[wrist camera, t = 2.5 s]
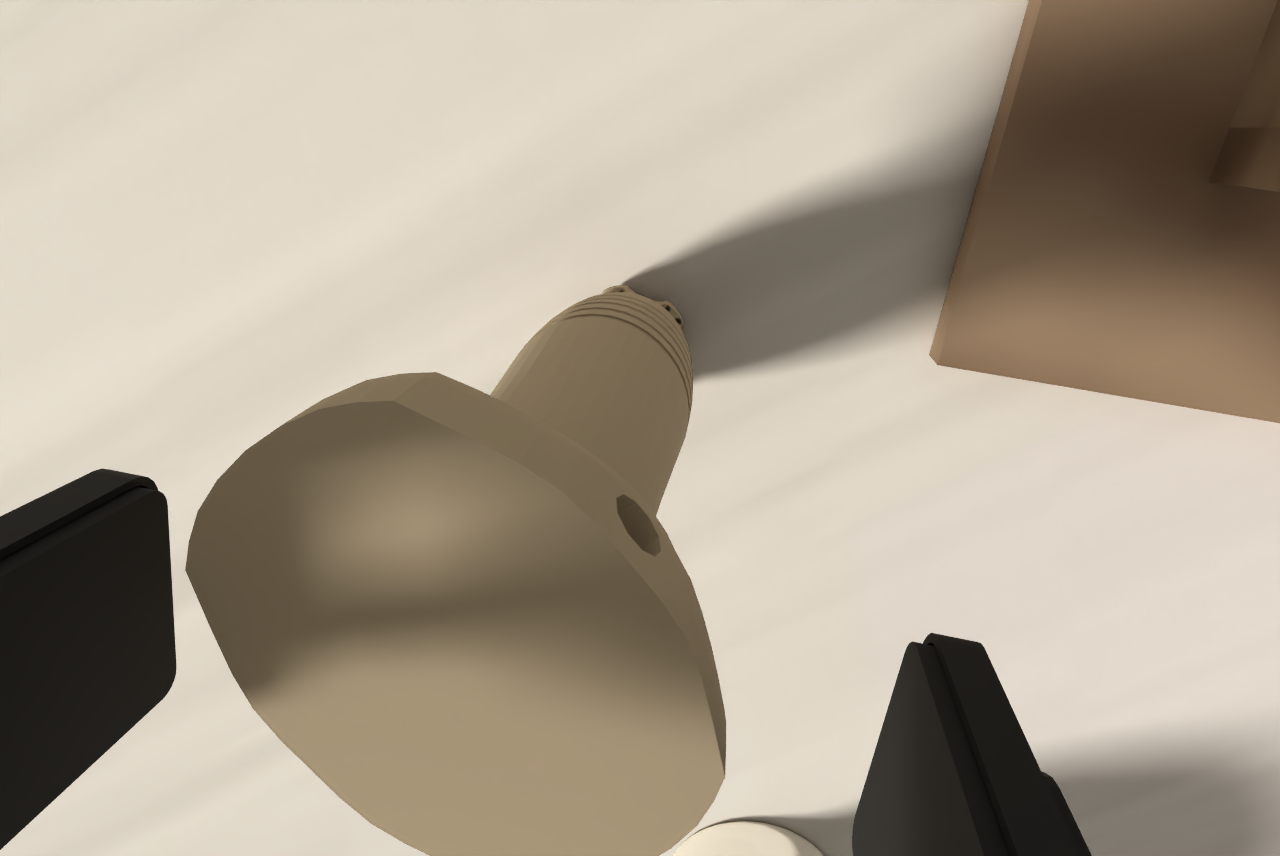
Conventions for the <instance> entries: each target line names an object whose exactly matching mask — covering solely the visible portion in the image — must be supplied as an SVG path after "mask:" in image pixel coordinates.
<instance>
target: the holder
mask: <svg viewBox="0 0 1280 856" xmlns="http://www.w3.org/2000/svg"><path fill="white" fill-rule="evenodd" d="M929 355H930V356H931V358H932V359H933V360H934V361H935V362H936V364H937V365H941V366H947V367H953V368H958V369H964V370H970V371H976V372H982V373H988V374H994V375H1000V376H1006V377H1011V378H1017V379H1023V380H1029V381H1035V382H1041V383H1047V384H1053V385H1059V386H1064V387H1070V388H1076V389H1082V390H1088V391H1094V392H1100V393H1106V394H1111V395H1117V396H1123V397H1129V398H1135V399H1141V400H1147V401H1153V402H1159V403H1164V404H1170V405H1176V406H1182V407H1188V408H1194V409H1200V410H1206V411H1211V412H1217V413H1223V414H1229V415H1235V416H1241V417H1247V418H1253V419H1259V420H1264V421H1270V422H1276V423H1280V0H1029V3H1028V6H1027V10H1026V13H1025V17H1024V20H1023V24H1022V28H1021V31H1020V35H1019V38H1018V42H1017V45H1016V49H1015V52H1014V56H1013V60H1012V63H1011V67H1010V70H1009V74H1008V77H1007V81H1006V84H1005V88H1004V92H1003V95H1002V99H1001V102H1000V106H999V109H998V113H997V116H996V120H995V124H994V127H993V131H992V134H991V138H990V141H989V145H988V148H987V152H986V155H985V159H984V163H983V166H982V170H981V173H980V177H979V180H978V184H977V187H976V191H975V195H974V198H973V202H972V205H971V209H970V212H969V216H968V219H967V223H966V227H965V230H964V234H963V237H962V241H961V244H960V248H959V251H958V255H957V259H956V262H955V266H954V269H953V273H952V276H951V280H950V283H949V287H948V290H947V294H946V298H945V301H944V305H943V308H942V312H941V315H940V319H939V322H938V326H937V330H936V333H935V337H934V340H933V344H932V347H931V351H930V354H929Z"/></svg>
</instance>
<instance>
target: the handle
mask: <svg viewBox="0 0 1280 856" xmlns="http://www.w3.org/2000/svg"><path fill="white" fill-rule="evenodd" d="M682 328H683V320H682V317H681V315H680V313H679V312H678V310H677V309H676V308H675V307H674V305H673V304H672V303H670V302H669V301H662V302H660V301H653V300H651V299H650V298H647V297H644V296H641V295H638V294H636V293H635V292H634V291H632V290H631V289H630V288H629V286H627V285H620V286H614V287H610V288H607V289H606V290H604V291H603V293H602V294H600V295H596V296H593V297H590V298H587V299H585V300H583V301H580V302H578V303H576V304H574V305H572V306H571V307H569V308H568V309H566V310H564V311H563V312H561V313H560V314H558V315H557V316H555V317H554V318H552V319H551V320H550V321H549V322H548V323H547V324H546V325H545V326H544V327H543V328H542V329H541V330H539V331H538V332H537V333H536V334H535V335H534V336H533V337H532V338H531V339H530V341H529V342H528V343H527V344H526V345H525V346H524V348H523V349H522V350H521V352H520V353H519V354H518V356H517V357H516V358H515V360H514V361H513V363H512V364H511V366H510V367H509V369H508V370H507V372H506V373H505V374H504V376H503V377H502V379H501V380H500V382H499V383H498V385H497V386H496V388H495V389H494V390H493V392H492V393H491V395H488V394H485V393H483V392H481V391H479V390H477V389H475V388H472V387H470V386H468V385H465V384H463V383H461V382H458V381H456V380H453V379H451V378H449V377H446V376H444V375H442V374H439V373H437V372H432V373H408V374H397V375H392V376H387V377H381V378H376V379H370V380H366V381H364V382H361V383H359V384H357V385H354V386H352V387H350V388H348V389H345V390H343V391H341V392H339V393H336V394H334V395H332V396H330V397H328V398H325V399H323V400H321V401H320V402H318V403H316V404H315V405H313V406H311V407H310V408H308V409H306V410H305V411H303V412H302V413H300V414H299V415H297V416H295V417H294V418H292V419H291V420H289V421H288V422H286V423H285V424H283V425H281V426H280V427H279V428H277V429H276V430H274V431H273V432H271V433H270V434H269V435H267V436H266V437H264V438H263V439H261V440H260V441H259V442H257V443H256V444H254V445H253V446H251V447H250V448H249V449H247V450H246V451H245V452H244V453H243V454H242V455H241V456H240V457H239V458H238V459H237V460H236V461H235V462H234V463H233V464H232V465H231V466H230V467H229V468H228V469H227V471H226V472H225V473H224V474H223V475H222V476H221V477H220V478H219V479H218V480H217V481H216V483H215V485H214V486H213V488H212V489H211V491H210V493H209V494H208V496H207V497H206V499H205V501H204V502H203V504H202V506H201V507H200V509H199V510H198V513H197V516H196V519H195V523H194V526H193V530H192V533H191V536H190V540H189V546H188V554H187V562H186V573H187V575H188V577H189V579H190V582H191V584H192V586H193V589H194V591H195V593H196V595H197V598H198V600H199V602H200V605H201V607H202V609H203V611H204V614H205V616H206V618H207V621H208V623H209V625H210V627H211V630H212V632H213V634H214V636H215V638H216V640H217V643H218V645H219V647H220V649H221V651H222V653H223V655H224V658H225V660H226V662H227V664H228V666H229V668H230V670H231V672H232V674H233V676H234V678H235V679H236V681H237V683H238V684H239V686H240V688H241V689H242V691H243V693H244V694H245V696H246V698H247V699H248V701H249V703H250V704H251V706H252V708H253V709H254V710H255V711H256V713H257V714H258V715H259V716H260V717H261V718H262V719H263V721H264V722H265V723H266V724H267V725H268V726H269V727H270V729H271V730H272V731H273V732H274V733H275V734H276V735H277V737H278V738H279V739H280V740H281V741H282V742H283V743H284V744H285V745H286V746H287V747H288V748H289V749H290V750H291V751H292V752H293V753H294V754H295V755H296V756H297V757H298V758H300V759H301V760H302V761H303V762H304V763H305V764H306V765H307V766H308V767H309V768H310V769H311V770H312V771H313V772H314V773H315V774H316V775H317V776H318V777H319V778H320V779H321V780H322V781H323V782H324V783H325V784H326V785H327V786H328V787H329V788H330V789H331V790H332V791H334V792H335V793H336V794H337V795H338V796H339V797H340V798H341V799H342V800H343V801H344V802H346V803H347V804H348V805H349V806H351V807H352V808H353V809H354V810H355V811H357V812H358V813H359V814H360V815H361V816H363V817H364V818H365V819H366V820H367V821H369V822H370V823H371V824H373V825H375V826H376V827H378V828H380V829H381V830H383V831H385V832H386V833H388V834H390V835H392V836H393V837H395V838H397V839H398V840H400V841H402V842H403V843H405V844H407V845H409V846H411V847H413V848H415V849H417V850H419V851H422V852H424V853H426V854H428V855H430V856H659V855H661V854H663V853H664V852H666V851H667V850H669V849H671V848H672V847H673V846H674V845H675V844H677V843H678V842H679V841H680V840H681V839H682V838H684V837H685V836H686V835H687V834H688V833H689V832H690V831H692V830H693V829H694V828H695V827H696V826H697V825H698V824H699V822H700V821H701V819H702V818H703V816H704V815H705V813H706V812H707V810H708V809H709V808H710V806H711V805H712V803H713V802H714V800H715V797H716V795H717V793H718V791H719V789H720V787H721V785H722V782H723V780H724V778H725V759H726V719H725V711H724V705H723V700H722V695H721V689H720V684H719V679H718V674H717V670H716V665H715V661H714V656H713V651H712V647H711V643H710V640H709V636H708V632H707V629H706V625H705V621H704V618H703V614H702V611H701V608H700V605H699V602H698V599H697V596H696V593H695V591H694V588H693V585H692V582H691V579H690V577H689V576H688V574H687V572H686V570H685V568H684V566H683V564H682V563H681V561H680V559H679V557H678V555H677V553H676V552H675V549H674V547H673V545H672V543H671V541H670V539H669V537H668V535H667V533H666V531H665V530H664V528H663V527H662V525H661V524H660V522H659V521H658V519H657V518H656V514H657V511H658V508H659V505H660V502H661V499H662V497H663V494H664V491H665V489H666V486H667V483H668V481H669V478H670V476H671V473H672V470H673V468H674V465H675V463H676V460H677V457H678V455H679V452H680V449H681V447H682V444H683V442H684V439H685V436H686V431H687V427H688V422H689V417H690V411H691V406H692V394H693V372H692V363H691V356H690V351H689V348H688V344H687V341H686V339H685V337H684V334H683V332H682Z"/></svg>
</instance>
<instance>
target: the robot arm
mask: <svg viewBox="0 0 1280 856" xmlns="http://www.w3.org/2000/svg"><path fill="white" fill-rule="evenodd" d="M175 675H176V651H175V633H174V615H173V597H172V578H171V560H170V542H169V524H168V505H167V500H166V498H165V496H164V494H163V493H161V492H160V491H158V488H157V486H156V485H155V483H154V481H153V480H151V479H150V478H148V477H144V476H139V475H134V474H129V473H124V472H119V471H114V470H108V469H99V470H96V471H93V472H91V473H89V474H87V475H85V476H83V477H81V478H79V479H77V480H74V481H72V482H70V483H68V484H66V485H64V486H62V487H60V488H58V489H56V490H54V491H52V492H50V493H48V494H46V495H44V496H42V497H40V498H38V499H35V500H33V501H31V502H29V503H27V504H25V505H23V506H21V507H19V508H17V509H15V510H13V511H11V512H9V513H7V514H5V515H3V516H1V517H0V850H1V849H2V848H3V847H4V846H5V845H6V844H7V843H8V842H9V841H10V840H11V839H12V838H14V837H15V836H16V835H17V834H18V833H19V832H20V831H21V830H22V829H23V828H24V827H25V826H26V825H28V824H29V823H30V822H31V821H32V820H33V819H34V818H35V817H36V816H37V815H38V814H39V813H40V812H42V811H43V810H44V809H45V808H46V807H47V806H48V805H49V804H50V803H51V802H52V801H53V800H54V799H56V798H57V797H58V796H59V795H60V794H61V793H62V792H63V791H64V790H65V789H66V788H67V787H68V786H70V785H71V784H72V783H73V782H74V781H75V780H76V779H77V778H78V777H79V776H80V775H81V774H82V773H84V772H85V771H86V770H87V769H88V768H89V767H90V766H91V765H92V764H93V763H94V762H95V761H96V760H98V759H99V758H100V757H101V756H102V755H103V754H104V753H105V752H106V751H107V750H108V749H109V748H110V747H112V746H113V745H114V744H115V743H116V742H117V741H118V740H119V739H120V738H121V737H122V736H123V735H124V734H126V733H127V732H128V731H129V730H130V729H131V728H132V727H133V726H134V725H135V724H136V723H137V722H139V721H140V720H141V719H142V718H143V717H144V716H145V715H146V714H147V713H148V712H149V711H150V710H151V709H153V708H154V707H155V706H156V705H157V704H158V703H159V702H160V701H161V700H162V699H163V698H164V697H165V696H166V695H167V693H168V691H169V690H170V688H171V686H172V684H173V682H174V679H175ZM852 848H853V856H1091V853H1090V851H1089V849H1088V847H1087V845H1086V843H1085V841H1084V839H1083V837H1082V834H1081V832H1080V830H1079V828H1078V826H1077V824H1076V822H1075V820H1074V818H1073V816H1072V813H1071V811H1070V809H1069V807H1068V805H1067V803H1066V801H1065V799H1064V797H1063V795H1062V792H1061V790H1060V788H1059V787H1058V785H1057V784H1056V782H1055V781H1054V779H1053V778H1052V777H1051V776H1049V775H1048V774H1046V773H1044V772H1041V770H1040V768H1039V766H1038V764H1037V762H1036V759H1035V757H1034V755H1033V753H1032V751H1031V748H1030V746H1029V744H1028V742H1027V740H1026V738H1025V735H1024V733H1023V731H1022V729H1021V727H1020V725H1019V722H1018V720H1017V718H1016V716H1015V714H1014V711H1013V709H1012V707H1011V705H1010V703H1009V701H1008V698H1007V696H1006V694H1005V692H1004V690H1003V687H1002V685H1001V683H1000V681H999V679H998V677H997V674H996V672H995V670H994V668H993V666H992V664H991V661H990V659H989V657H988V655H987V653H986V650H985V648H984V647H983V645H982V644H981V643H978V642H974V641H969V640H964V639H959V638H954V637H949V636H944V635H939V634H934V633H930V634H929V635H927V637H926V639H925V640H924V642H923V644H921V643H916V642H911V643H909V645H908V646H907V649H906V651H905V654H904V657H903V660H902V664H901V667H900V670H899V674H898V677H897V680H896V683H895V687H894V690H893V693H892V697H891V700H890V703H889V706H888V710H887V713H886V716H885V720H884V723H883V726H882V730H881V733H880V736H879V739H878V743H877V746H876V749H875V753H874V756H873V759H872V762H871V766H870V769H869V772H868V776H867V779H866V782H865V785H864V789H863V792H862V795H861V799H860V802H859V805H858V808H857V812H856V815H855V819H854V825H853V835H852Z"/></svg>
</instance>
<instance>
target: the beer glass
mask: <svg viewBox="0 0 1280 856" xmlns="http://www.w3.org/2000/svg"><path fill="white" fill-rule="evenodd" d="M673 856H823V854H822V853H821V852H820V851H819V850H818V849H817V848H816V847H815V846H813V845H812V844H811V843H810V842H808V841H807V840H805V839H804V838H802V837H801V836H799V835H797V834H795V833H793V832H791V831H789V830H786V829H784V828H781V827H778V826H775V825H771V824H767V823H761V822H752V821H736V822H727V823H722V824H718V825H714V826H711V827H708V828H706V829H703V830H701V831H699V832H697V833H696V834H694V835H692V836H691V837H689V838H688V839H687V840H686V841H684V842H683V843H682V844H681V845H680V846H679V847H678V849H677V850H676V851H675V853H674V854H673Z"/></svg>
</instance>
